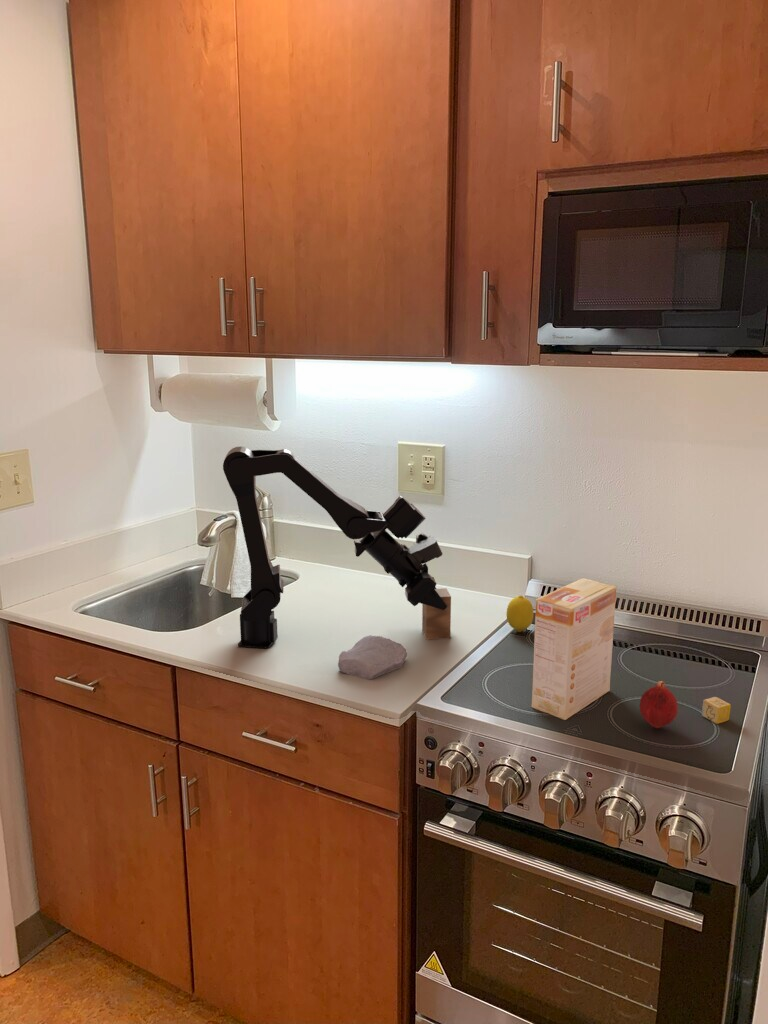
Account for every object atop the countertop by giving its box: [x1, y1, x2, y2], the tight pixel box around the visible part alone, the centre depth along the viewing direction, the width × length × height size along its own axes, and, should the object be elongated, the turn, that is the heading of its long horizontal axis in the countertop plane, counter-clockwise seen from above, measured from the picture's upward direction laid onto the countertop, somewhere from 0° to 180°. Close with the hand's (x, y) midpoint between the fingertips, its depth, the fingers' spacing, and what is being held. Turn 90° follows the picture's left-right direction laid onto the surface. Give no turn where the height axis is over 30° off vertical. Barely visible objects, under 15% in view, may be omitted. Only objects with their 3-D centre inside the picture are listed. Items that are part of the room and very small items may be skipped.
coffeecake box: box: [531, 577, 618, 721], centre depth 138 cm, size 15×7×20 cm, turn 136°
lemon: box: [506, 594, 535, 633], centre depth 168 cm, size 6×6×8 cm
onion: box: [639, 680, 679, 729], centre depth 129 cm, size 6×6×8 cm
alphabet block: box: [701, 696, 732, 725], centre depth 133 cm, size 3×3×3 cm
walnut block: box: [421, 587, 452, 640], centre depth 167 cm, size 5×5×9 cm
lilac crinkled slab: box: [337, 634, 408, 680], centre depth 153 cm, size 12×5×10 cm
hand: (443, 603), depth 167 cm, fingers closed on walnut block, 5 cm apart
